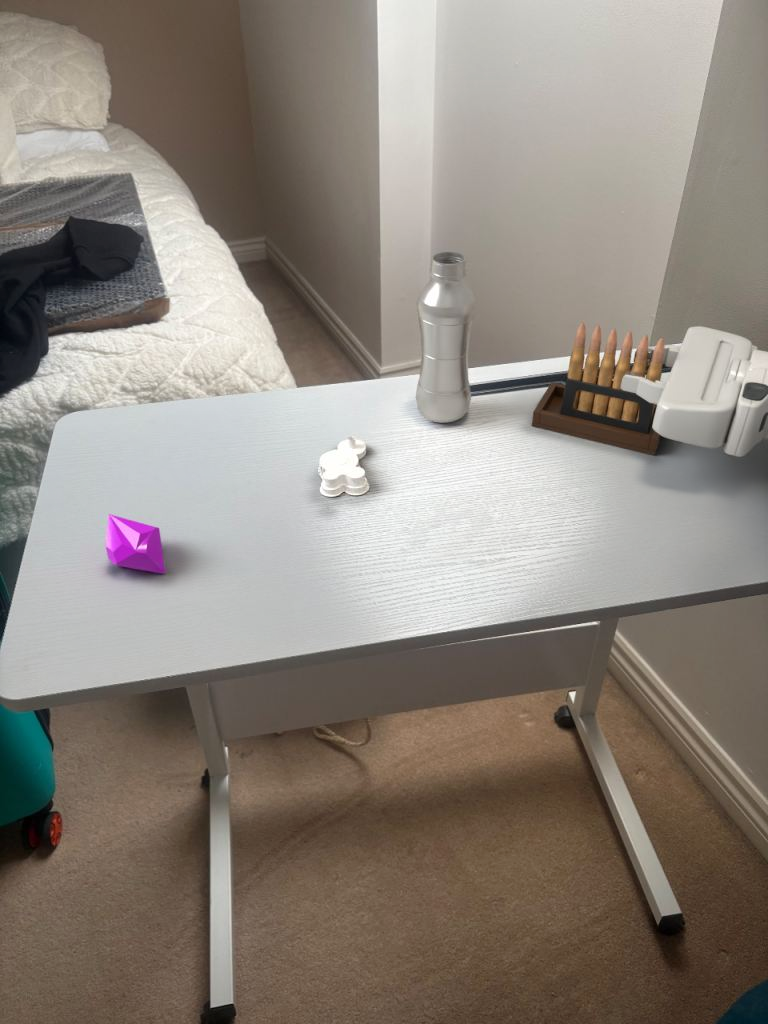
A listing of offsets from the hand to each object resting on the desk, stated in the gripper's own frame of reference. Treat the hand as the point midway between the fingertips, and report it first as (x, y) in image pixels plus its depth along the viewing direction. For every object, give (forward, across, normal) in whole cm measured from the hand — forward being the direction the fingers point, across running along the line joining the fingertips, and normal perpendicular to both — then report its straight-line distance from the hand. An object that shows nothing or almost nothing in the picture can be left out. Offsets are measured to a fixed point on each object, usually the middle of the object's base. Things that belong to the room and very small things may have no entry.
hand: (629, 366), depth 94 cm
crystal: (+37, +43, +9) cm, 57 cm away
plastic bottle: (+20, +6, +9) cm, 23 cm away
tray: (+2, 0, +8) cm, 9 cm away
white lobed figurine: (+25, +22, +9) cm, 34 cm away
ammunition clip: (+2, 0, +8) cm, 8 cm away
